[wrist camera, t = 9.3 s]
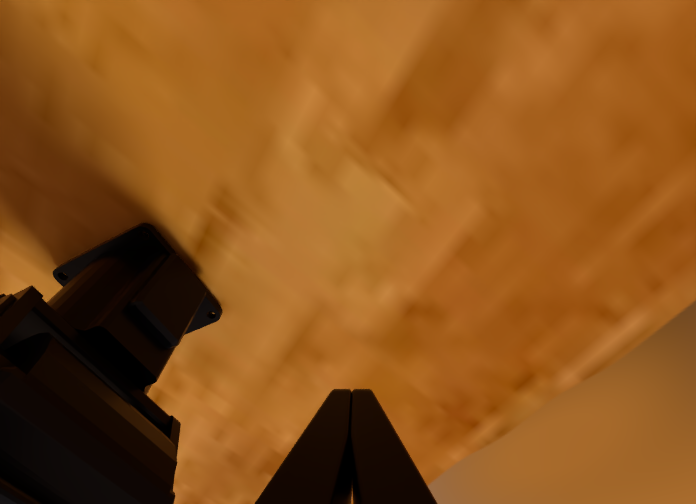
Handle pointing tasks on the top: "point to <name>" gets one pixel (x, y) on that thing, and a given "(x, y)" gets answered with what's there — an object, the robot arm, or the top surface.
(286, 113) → the top surface
